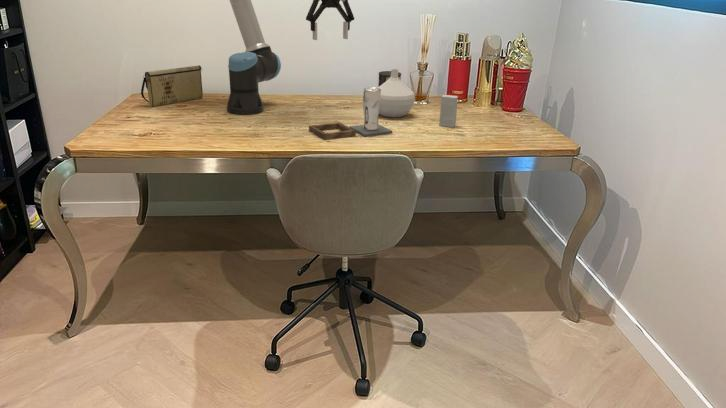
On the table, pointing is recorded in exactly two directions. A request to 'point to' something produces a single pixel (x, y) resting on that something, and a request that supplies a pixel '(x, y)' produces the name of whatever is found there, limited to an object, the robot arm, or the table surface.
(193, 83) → the clutch purse
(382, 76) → the coffee can
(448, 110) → the skincare box
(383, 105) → the vase
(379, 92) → the beer glass
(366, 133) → the slate pad
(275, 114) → the table surface
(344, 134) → the frame
